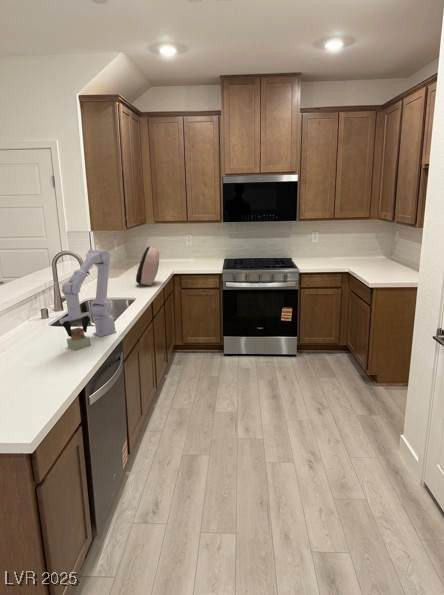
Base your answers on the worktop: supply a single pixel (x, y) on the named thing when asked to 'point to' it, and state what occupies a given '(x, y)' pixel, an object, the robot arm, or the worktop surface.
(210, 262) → the worktop surface
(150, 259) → the pink rounded shell
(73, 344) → the sage base block
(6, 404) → the worktop surface
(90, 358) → the worktop surface
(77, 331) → the walnut cube
